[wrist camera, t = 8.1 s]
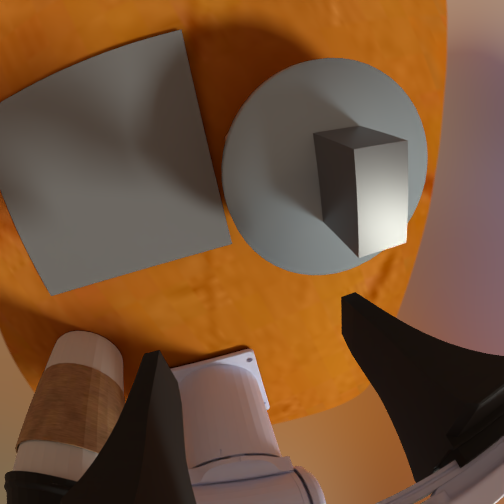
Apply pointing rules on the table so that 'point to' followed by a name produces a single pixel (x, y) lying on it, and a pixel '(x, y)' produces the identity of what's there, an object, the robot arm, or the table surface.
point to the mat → (110, 166)
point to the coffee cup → (67, 418)
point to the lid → (324, 166)
